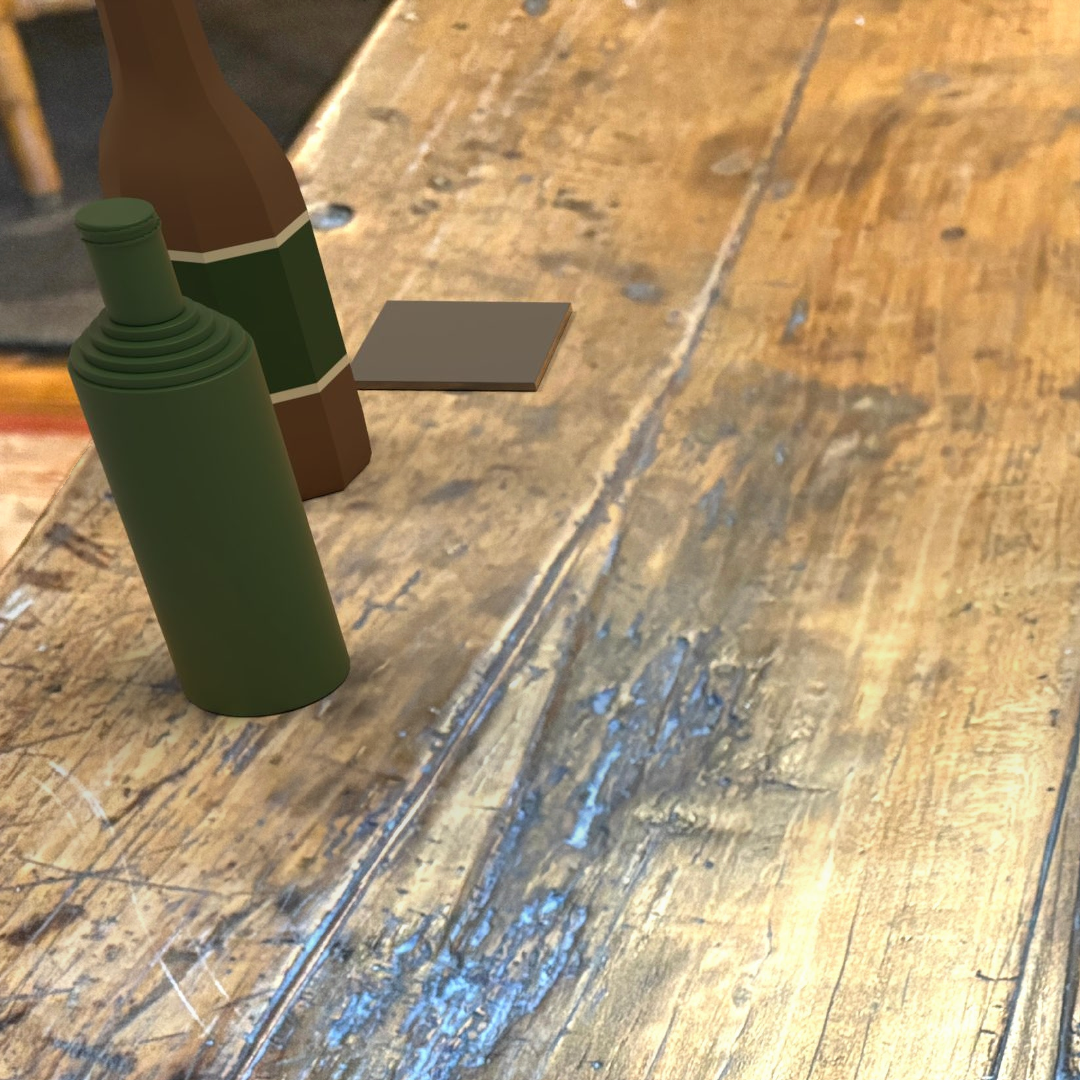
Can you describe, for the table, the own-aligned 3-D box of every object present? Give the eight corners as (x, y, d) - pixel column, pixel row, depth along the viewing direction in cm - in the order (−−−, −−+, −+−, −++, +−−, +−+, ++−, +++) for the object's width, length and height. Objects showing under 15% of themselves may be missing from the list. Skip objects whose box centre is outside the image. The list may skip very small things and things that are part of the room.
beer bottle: (291, 413, 117) (116, -180, 100) (413, 457, 114) (254, -144, 97) (155, 479, 112) (-55, -131, 95) (279, 526, 110) (87, -93, 92)
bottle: (161, 717, 99) (-12, 247, 86) (208, 633, 103) (49, 174, 90) (328, 717, 99) (181, 249, 86) (367, 633, 104) (232, 176, 91)
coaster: (342, 389, 119) (340, 380, 118) (388, 308, 125) (386, 300, 125) (536, 391, 119) (534, 382, 119) (572, 310, 125) (571, 302, 125)
